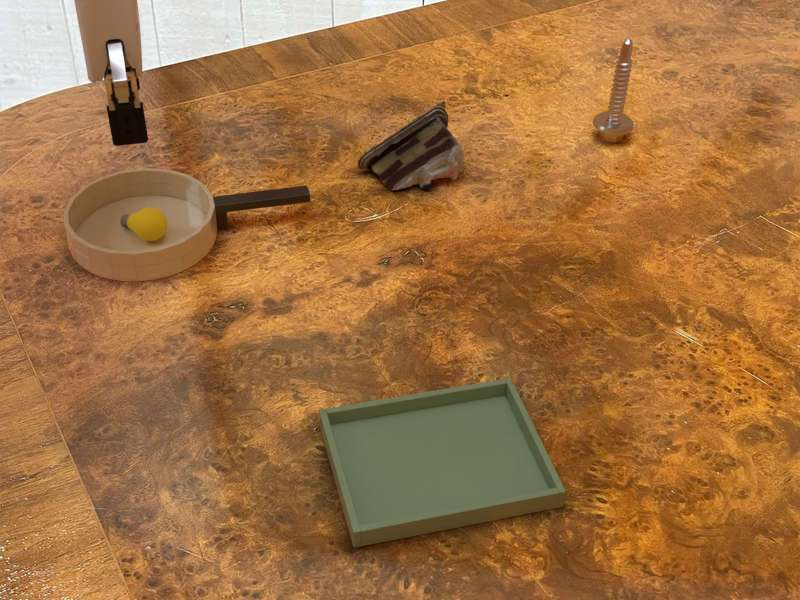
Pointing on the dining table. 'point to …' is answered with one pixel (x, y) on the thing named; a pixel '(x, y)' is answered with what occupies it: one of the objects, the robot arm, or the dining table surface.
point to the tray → (437, 461)
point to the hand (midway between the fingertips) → (127, 116)
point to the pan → (119, 246)
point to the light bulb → (146, 223)
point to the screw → (617, 100)
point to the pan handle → (257, 201)
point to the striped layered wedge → (416, 153)
